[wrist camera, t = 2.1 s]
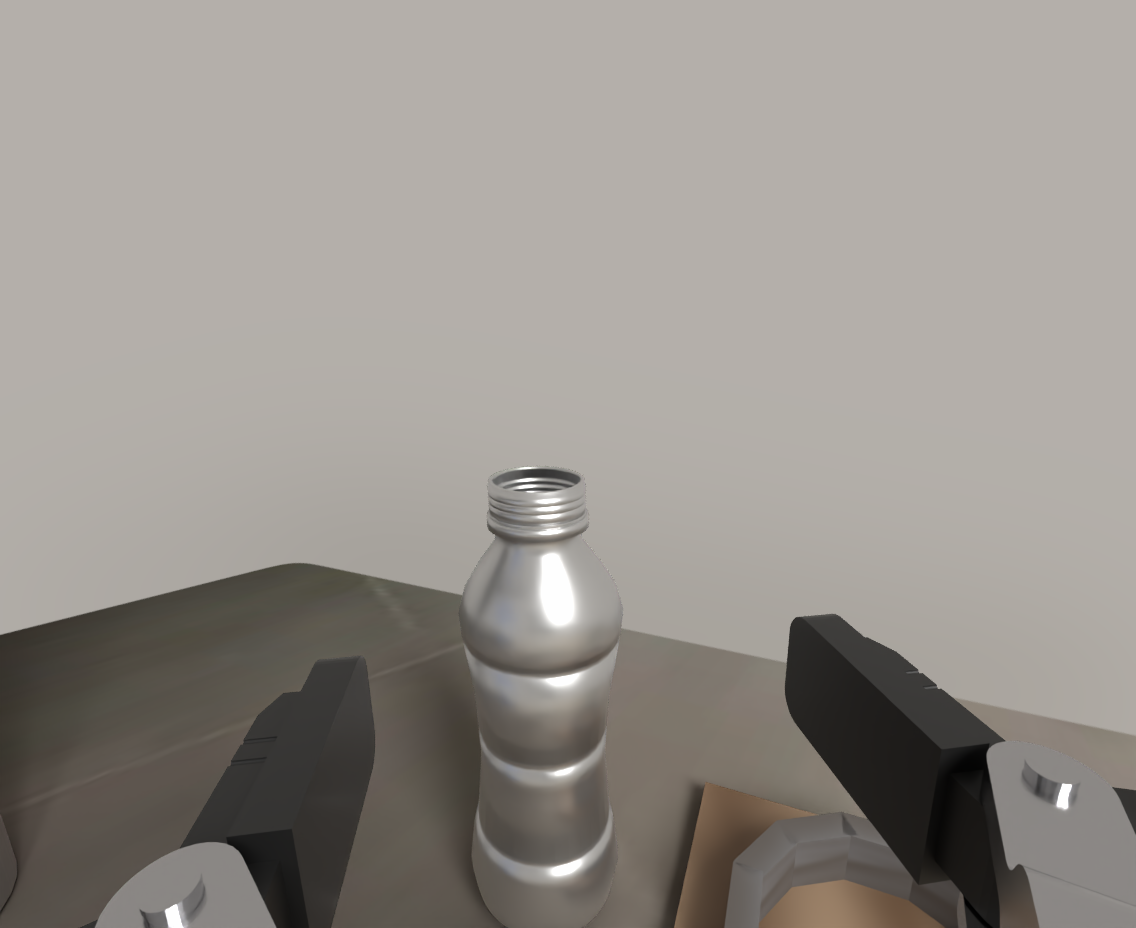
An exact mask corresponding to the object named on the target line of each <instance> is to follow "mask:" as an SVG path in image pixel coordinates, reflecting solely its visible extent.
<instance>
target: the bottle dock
mask: <svg viewBox="0 0 1136 928" xmlns="http://www.w3.org/2000/svg"><path fill="white" fill-rule="evenodd" d="M959 894H960V890H959V889H958V888H957V887H956V886H955V884H954V883H953V882H952V881H951V880H948V881H942V882H936V883H929V884H923V885H918V884H917V883H916V881H915V880H914V879H913V877H912V876H911V875H910V873H909V872H908V871H907V870H906V868H905V867H904V866H903V864H902V863H901V862H900V860H899V859H898V858H897V856H896V855H895V854H894V852H893V851H892V850H891V848H890V847H889V846H888V845H887V843H886V842H885V841H884V839H883V838H882V837H881V835H880V834H879V833H878V831H877V830H876V829H875V827H874V826H873V825H872V823H871V822H870V821H869V820H868V819H864V818H861V817H857V816H854V815H851V814H847V813H844V812H837V813H830V814H822V815H817V814H813V813H810V812H806V811H803V810H800V809H796V808H793V807H789V806H786V805H782V804H779V803H776V802H772V801H769V800H765V799H762V798H759V797H755V796H752V795H748V794H745V793H742V792H738V791H735V790H731V789H728V788H725V787H721V786H718V785H714V784H711V783H708V782H706V783H705V787H704V792H703V797H702V801H701V806H700V810H699V815H698V820H697V824H696V829H695V833H694V838H693V843H692V847H691V852H690V856H689V861H688V865H687V870H686V875H685V879H684V884H683V888H682V893H681V898H680V902H679V907H678V911H677V916H676V920H675V925H674V928H958V918H957V904H958V899H959Z"/></svg>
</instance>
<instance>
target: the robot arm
mask: <svg viewBox="0 0 1136 928" xmlns="http://www.w3.org/2000/svg"><path fill="white" fill-rule="evenodd" d="M785 696H786V702H787V705H788V709H789V712H790V714H791V716H792V718H793V720H794V722H795V723H796V725H797V726H798V727H799V729H800V730H801V731H802V733H803V734H804V735H805V736H806V738H807V739H808V740H809V742H810V743H811V744H812V746H813V747H814V748H815V750H816V751H817V752H818V754H819V755H820V756H821V758H822V759H823V760H824V761H825V763H826V764H827V765H828V767H829V768H830V769H831V771H832V772H833V773H834V775H835V776H836V777H837V779H838V780H839V781H840V783H841V784H842V785H843V787H844V788H845V789H846V790H847V792H848V793H849V794H850V796H851V797H852V798H853V800H854V801H855V802H856V804H857V805H858V806H859V808H860V809H861V810H862V812H863V813H864V814H865V816H866V817H867V818H868V819H869V821H870V822H871V823H872V825H873V826H874V827H875V829H876V830H877V831H878V833H879V834H880V835H881V837H882V838H883V839H884V841H885V842H886V843H887V845H888V846H889V847H890V848H891V850H892V851H893V852H894V854H895V855H896V856H897V858H898V859H899V860H900V862H901V863H902V864H903V866H904V867H905V868H906V870H907V871H908V872H909V873H910V875H911V876H912V877H913V879H914V880H915V881H916V883H917V884H918V885H923V884H929V883H936V882H942V881H948V880H951V881H952V882H953V883H954V884H955V886H956V887H957V888H958V889H959V890H960V894H959V899H958V904H957V918H958V928H1136V790H1129V789H1121V788H1114V787H1111V786H1110V785H1109V784H1108V783H1107V782H1106V781H1105V780H1104V779H1103V778H1102V777H1101V776H1100V775H1098V774H1097V773H1096V772H1094V771H1093V770H1092V769H1090V768H1089V767H1087V766H1086V765H1084V764H1082V763H1081V762H1079V761H1077V760H1075V759H1073V758H1071V757H1069V756H1067V755H1065V754H1063V753H1061V752H1058V751H1056V750H1053V749H1050V748H1047V747H1044V746H1041V745H1037V744H1033V743H1028V742H1021V741H1005V740H1004V739H1003V738H1001V737H1000V736H999V735H998V734H996V733H995V732H994V731H993V730H992V729H990V728H989V727H988V726H987V725H985V724H984V723H983V722H982V721H981V720H979V719H978V718H977V717H976V716H974V715H973V714H972V713H971V712H969V711H968V710H967V709H966V708H965V707H963V706H962V705H961V704H960V703H958V702H957V701H956V700H955V699H954V698H952V697H951V696H950V695H948V694H947V693H946V692H945V691H944V690H942V689H938V688H937V685H936V684H935V683H934V682H933V681H931V680H930V679H929V678H928V677H926V676H925V675H924V674H923V673H920V674H919V672H918V669H917V668H915V667H914V666H913V665H911V663H909V662H908V661H907V660H906V659H904V658H903V657H902V656H901V655H900V654H898V653H897V652H895V651H894V650H892V649H889V648H887V647H885V646H884V645H882V644H880V643H878V642H876V641H873V640H871V639H869V638H865V637H863V636H862V635H861V634H860V633H859V632H858V631H856V630H855V629H854V628H853V627H852V626H850V625H849V624H848V623H847V622H846V621H845V620H843V619H842V618H841V617H840V616H838V615H836V614H826V615H815V616H804V617H796V618H795V619H794V620H793V621H792V623H791V626H790V634H789V646H788V658H787V669H786V680H785ZM374 754H375V730H374V721H373V713H372V705H371V697H370V689H369V681H368V673H367V666H366V662H365V659H364V657H363V656H354V657H343V658H332V659H321V660H317V662H316V663H315V664H314V666H313V668H312V670H311V672H310V674H309V676H308V678H307V680H306V682H305V684H304V686H303V688H302V690H301V691H300V692H290V693H283V694H282V695H281V696H280V697H278V698H277V699H276V700H275V701H274V702H273V703H272V704H270V705H269V706H268V707H267V708H266V709H265V710H263V711H262V712H261V713H260V714H259V715H258V716H257V718H256V720H255V721H254V723H253V725H252V726H251V728H250V730H249V732H248V733H247V735H246V737H245V738H244V743H243V745H240V747H239V749H238V750H237V752H236V754H235V755H234V757H233V759H232V760H231V766H228V767H227V769H226V771H225V772H224V774H223V776H222V777H221V779H220V781H219V783H218V784H217V786H216V788H215V789H214V791H213V793H212V794H211V796H210V798H209V800H208V801H207V803H206V805H205V806H204V808H203V810H202V811H201V813H200V815H199V817H198V818H197V820H196V822H195V823H194V825H193V827H192V828H191V830H190V832H189V834H188V835H187V837H186V839H185V840H184V842H183V844H182V845H181V847H180V849H179V850H176V851H173V852H171V853H169V854H167V855H165V856H163V857H161V858H159V859H158V860H156V861H154V862H153V863H151V864H150V865H148V866H147V867H145V868H144V869H142V870H141V871H140V872H138V873H137V874H136V875H135V876H133V877H132V878H131V879H130V880H129V881H128V882H126V883H125V884H124V885H123V886H122V887H121V888H120V890H119V891H118V892H117V893H116V894H115V895H114V896H113V897H112V899H111V900H110V901H109V902H108V904H107V905H106V907H105V908H104V910H103V912H102V913H101V915H100V917H99V919H98V920H96V921H94V922H92V923H89V924H87V925H85V926H83V927H80V928H331V925H332V921H333V918H334V914H335V910H336V906H337V902H338V899H339V895H340V891H341V887H342V883H343V879H344V876H345V872H346V868H347V864H348V860H349V857H350V853H351V849H352V845H353V841H354V838H355V834H356V830H357V826H358V822H359V819H360V815H361V811H362V807H363V803H364V799H365V796H366V792H367V788H368V784H369V780H370V777H371V773H372V769H373V763H374ZM16 877H17V861H16V858H15V855H14V852H13V849H12V846H11V843H10V840H9V837H8V834H7V831H6V828H5V825H4V822H3V819H2V816H1V814H0V911H1V909H2V908H3V906H4V904H5V903H6V901H7V899H8V898H9V896H10V894H11V892H12V890H13V887H14V884H15V881H16Z"/></svg>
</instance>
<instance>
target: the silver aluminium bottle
mask: <svg viewBox="0 0 1136 928" xmlns="http://www.w3.org/2000/svg"><path fill="white" fill-rule="evenodd" d="M585 485H586V484H585V482H584V477H583V475H581V474H580V473H578V472H576V471H573V470H569V469H564V468H559V467H548V466H530V467H518V468H512V469H507V470H503V471H500V472H497V473H495V474H493V475H491V476H490V478H489V479H488V486H487V487H488V500H489V511H488V512H487V527H488V529H489V531H491V532H492V533H493V534H495V540H494V541H493V542H492V544H491V545H490V547H489V548H488V549H487V550H486V552H485V553H484V555H483V556H482V557H481V559H480V560H479V562H478V564H477V565H476V567H475V569H474V571H473V573H472V574H471V576H470V578H469V579H468V581H467V583H466V585H465V588H464V592H463V595H462V599H461V603H460V608H459V619H460V627H461V634H462V639H463V642H464V647H465V652H466V656H467V661H468V665H469V670H470V674H471V679H472V683H473V688H474V693H475V701H476V710H477V719H478V726H479V737H480V746H481V768H480V790H479V803H478V807H477V811H476V816H475V821H474V831H473V841H472V854H471V857H472V863H473V870H474V873H475V877H476V880H477V884H478V887H479V891H480V893H481V896H482V898H483V901H484V903H485V905H486V906H487V908H488V909H489V911H490V912H491V914H492V915H493V916H494V917H495V918H496V919H497V920H498V921H499V922H500V923H501V924H503V925H504V926H506V927H508V928H582V927H584V926H585V925H586V924H588V923H589V922H590V921H591V920H592V919H594V918H595V917H596V915H597V914H598V913H599V911H600V910H601V909H602V908H603V906H604V904H605V902H606V900H607V898H608V896H609V893H610V889H611V885H612V881H613V877H614V873H615V869H616V865H617V861H618V844H617V837H616V829H615V822H614V818H613V813H612V809H611V804H610V800H609V792H608V779H607V766H606V753H605V742H606V726H607V716H608V703H609V693H610V688H611V683H612V677H613V672H614V667H615V661H616V656H617V651H618V645H619V638H620V635H621V624H622V616H623V607H622V603H621V600H620V596H619V593H618V589H617V586H616V583H615V581H614V579H613V577H612V576H611V575H610V573H609V571H608V570H607V568H606V567H605V565H604V564H603V562H602V561H601V559H600V558H599V557H598V556H597V555H596V553H595V552H594V551H593V550H592V549H591V547H590V546H589V545H588V544H587V543H586V541H585V540H584V539H583V538H582V533H583V532H584V531H586V529H587V528H588V525H589V513H588V510H587V509H586V486H585Z"/></svg>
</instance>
